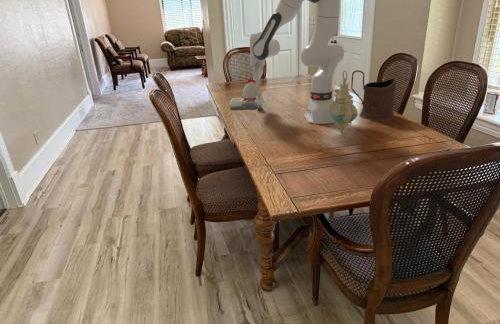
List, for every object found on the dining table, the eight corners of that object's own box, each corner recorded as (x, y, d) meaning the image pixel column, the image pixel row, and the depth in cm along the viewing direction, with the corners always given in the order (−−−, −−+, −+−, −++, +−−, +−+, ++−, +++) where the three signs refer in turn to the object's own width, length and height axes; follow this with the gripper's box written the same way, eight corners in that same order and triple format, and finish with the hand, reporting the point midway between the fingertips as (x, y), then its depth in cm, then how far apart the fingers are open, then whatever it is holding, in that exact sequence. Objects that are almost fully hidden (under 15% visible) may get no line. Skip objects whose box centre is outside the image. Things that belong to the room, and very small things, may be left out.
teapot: (323, 125, 180) (326, 67, 167) (345, 124, 180) (349, 65, 167) (336, 141, 158) (339, 75, 145) (360, 140, 158) (366, 74, 146)
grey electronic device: (254, 109, 216) (254, 101, 214) (230, 109, 218) (229, 102, 217) (257, 104, 227) (257, 97, 225) (233, 104, 229) (233, 97, 227)
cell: (262, 110, 213) (261, 96, 210) (256, 110, 214) (255, 96, 210) (263, 108, 217) (262, 94, 213) (256, 108, 218) (256, 94, 214)
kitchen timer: (261, 100, 236) (261, 78, 230) (242, 101, 237) (240, 79, 231) (261, 95, 249) (261, 74, 243) (242, 96, 250) (241, 75, 244)
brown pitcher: (397, 121, 181) (403, 72, 171) (350, 120, 186) (353, 73, 176) (391, 111, 198) (396, 66, 188) (348, 111, 203) (351, 67, 192)
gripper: (260, 64, 194) (261, 88, 200) (264, 58, 212) (265, 81, 218) (249, 64, 195) (250, 88, 201) (254, 59, 213) (255, 81, 219)
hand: (258, 84), depth 209 cm, fingers open, 8 cm apart
